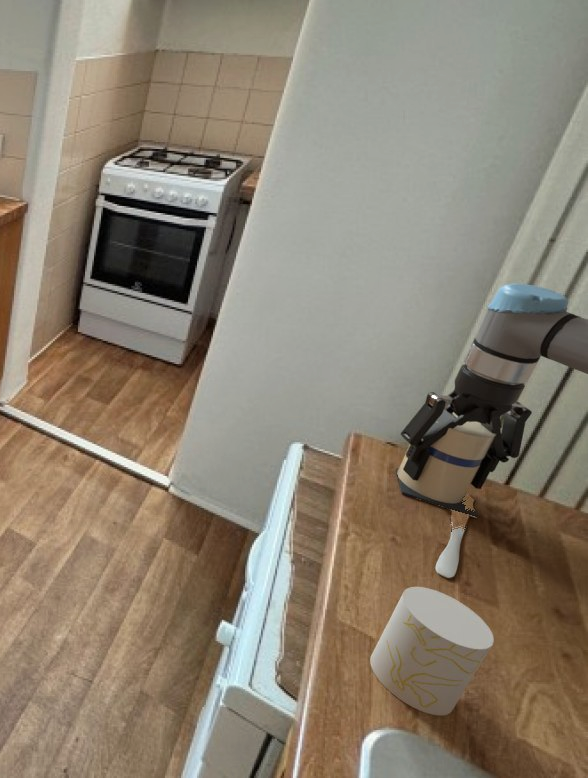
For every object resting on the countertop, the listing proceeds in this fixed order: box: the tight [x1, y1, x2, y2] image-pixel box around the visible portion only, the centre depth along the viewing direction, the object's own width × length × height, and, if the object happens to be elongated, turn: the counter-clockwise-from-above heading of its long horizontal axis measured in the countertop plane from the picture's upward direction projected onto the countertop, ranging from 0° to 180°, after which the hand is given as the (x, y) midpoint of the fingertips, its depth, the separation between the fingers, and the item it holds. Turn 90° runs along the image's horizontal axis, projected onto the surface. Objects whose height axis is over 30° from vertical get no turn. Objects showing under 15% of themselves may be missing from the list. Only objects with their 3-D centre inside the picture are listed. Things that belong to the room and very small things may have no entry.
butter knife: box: [434, 522, 466, 579], centre depth 101 cm, size 1×27×3 cm
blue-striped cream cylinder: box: [396, 412, 496, 503], centre depth 108 cm, size 14×9×9 cm
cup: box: [369, 586, 495, 716], centre depth 75 cm, size 8×8×12 cm
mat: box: [395, 467, 479, 518], centre depth 109 cm, size 10×8×1 cm
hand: (441, 479), depth 108 cm, fingers closed on blue-striped cream cylinder, 9 cm apart
